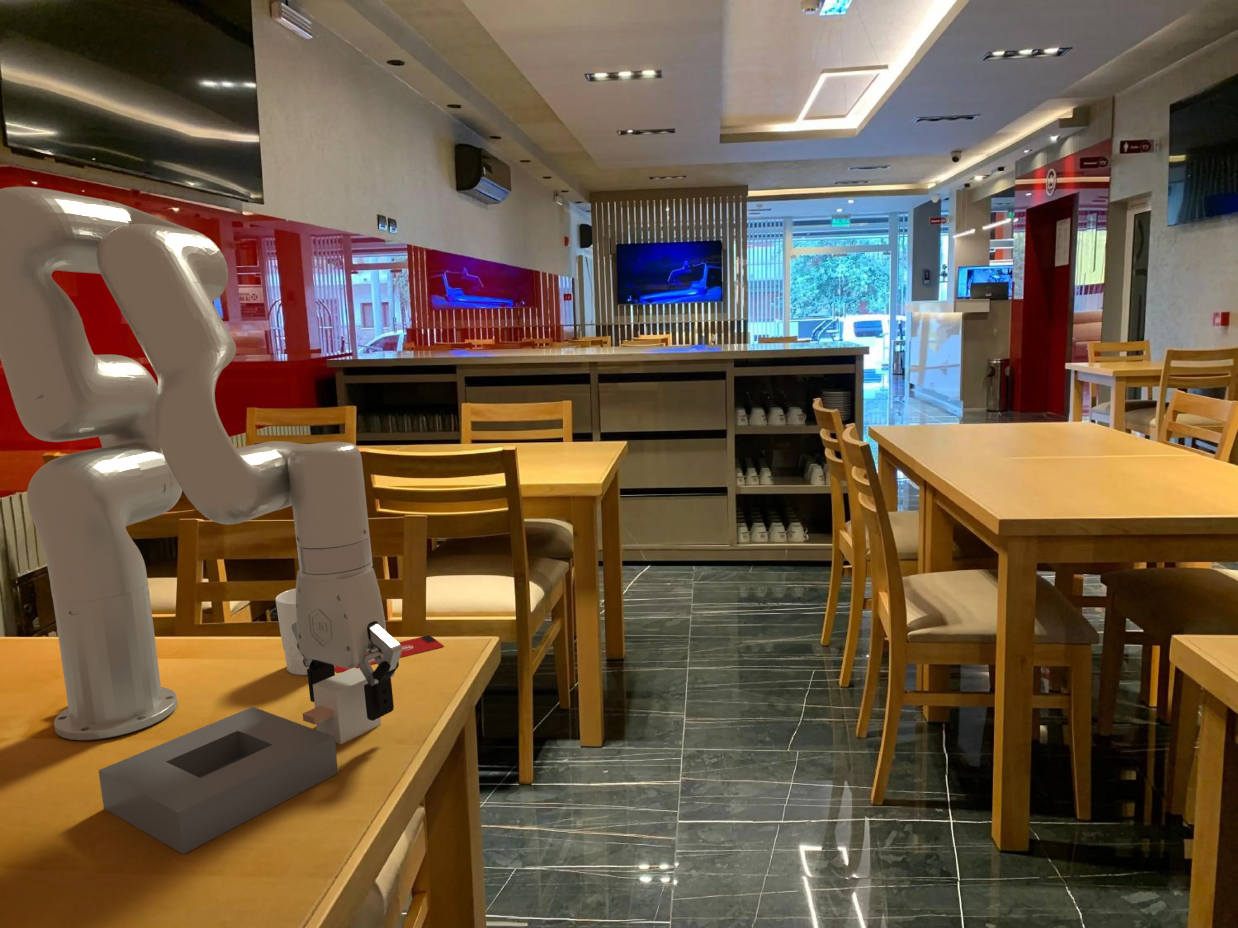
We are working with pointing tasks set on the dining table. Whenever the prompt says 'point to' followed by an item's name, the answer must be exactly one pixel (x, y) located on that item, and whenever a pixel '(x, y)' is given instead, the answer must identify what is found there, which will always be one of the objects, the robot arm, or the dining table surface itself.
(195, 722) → the dining table surface
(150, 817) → the block
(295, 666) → the white cup
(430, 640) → the electronic device
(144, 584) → the robot arm
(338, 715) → the block
